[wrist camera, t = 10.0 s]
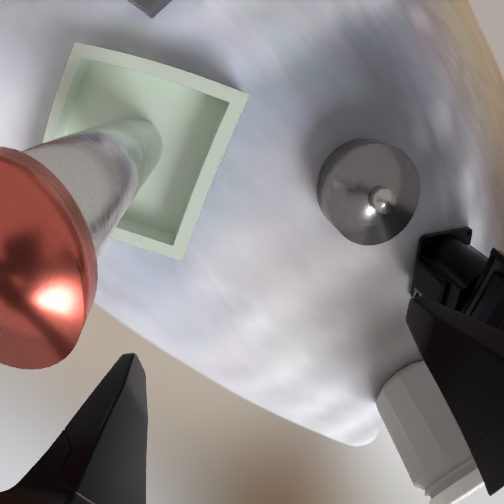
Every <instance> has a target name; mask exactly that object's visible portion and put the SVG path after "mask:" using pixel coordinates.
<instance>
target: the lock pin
mask: <svg viewBox="0 0 504 504" xmlns="http://www.w3.org/2000/svg"><path fill="white" fill-rule="evenodd" d="M162 147H163V145H162V139H161V136H160V134H159V132H158V130H157V129H156V127H155V126H154V125H153V124H151V123H150V122H148V121H147V120H144V119H141V118H135V117H133V118H126V119H122V120H118V121H114V122H110V123H107V124H103V125H99V126H96V127H92V128H89V129H85V130H82V131H79V132H76V133H72V134H69V135H66V136H63V137H60V138H57V139H54V140H51V141H49V142H46V143H43V144H40V145H37V146H35V147H32V148H29V149H27V150H24V151H22V152H20V151H18V150H15V149H11V148H6V147H0V363H2V364H5V365H8V366H11V367H16V368H21V369H41V368H45V367H50V366H52V365H54V364H57V363H59V362H60V361H61V360H63V359H64V358H66V357H67V356H68V355H69V354H70V352H71V351H72V350H73V348H74V347H75V345H76V343H77V341H78V339H79V336H80V334H81V331H82V328H83V326H84V323H85V321H86V319H87V316H88V314H89V312H90V309H91V307H92V304H93V302H94V298H95V294H96V289H97V280H98V274H97V258H98V256H99V254H100V253H101V251H102V249H103V247H104V246H105V244H106V242H107V241H108V239H109V237H110V236H111V234H112V232H113V231H114V229H115V227H116V226H117V224H118V223H119V221H120V219H121V218H122V216H123V215H124V213H125V211H126V210H127V208H128V207H129V205H130V204H131V202H132V201H133V199H134V198H135V196H136V195H137V193H138V192H139V190H140V189H141V187H142V186H143V184H144V183H145V181H146V180H147V178H148V177H149V175H150V174H151V173H152V171H153V170H154V168H155V167H156V166H157V164H158V162H159V160H160V158H161V155H162Z"/></svg>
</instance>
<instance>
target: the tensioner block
mask: <svg viewBox="0 0 504 504" xmlns="http://www.w3.org/2000/svg"><path fill="white" fill-rule="evenodd" d="M128 1H129V2H131V3H132V4H133V5H135V6H136V7H137V8H139V9H140V10H141V11H143V12H144V13H145V14H147V15H148V16H149V17H151V18H153V17H154V16H155V15H156V14H157V13H158V12H160V11H161V10H162V9H163V8H164V7H165V6H166V5H167V4H168V3H170V2H171V1H172V0H128Z"/></svg>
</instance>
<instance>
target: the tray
mask: <svg viewBox="0 0 504 504" xmlns="http://www.w3.org/2000/svg"><path fill="white" fill-rule="evenodd" d="M248 97H249V95H248V94H246V93H243V92H241V91H238V90H236V89H233V88H231V87H228V86H226V85H223V84H220V83H218V82H215V81H212V80H210V79H207V78H204V77H201V76H198V75H196V74H193V73H190V72H187V71H184V70H181V69H178V68H175V67H171V66H168V65H165V64H162V63H158V62H155V61H151V60H148V59H144V58H141V57H137V56H133V55H130V54H126V53H122V52H118V51H114V50H109V49H105V48H101V47H96V46H91V45H86V44H81V43H76V42H75V43H74V45H73V48H72V50H71V53H70V55H69V58H68V61H67V63H66V66H65V69H64V71H63V74H62V77H61V80H60V83H59V86H58V89H57V92H56V95H55V98H54V102H53V105H52V108H51V112H50V115H49V119H48V123H47V126H46V130H45V134H44V138H43V143H46V142H49V141H51V140H54V139H57V138H60V137H63V136H66V135H69V134H72V133H76V132H79V131H82V130H85V129H89V128H92V127H96V126H99V125H103V124H107V123H110V122H114V121H118V120H122V119H126V118H133V117H135V118H141V119H144V120H147V121H148V122H150V123H151V124H153V125H154V126H155V127H156V129H157V130H158V132H159V134H160V136H161V139H162V145H163V147H162V155H161V158H160V160H159V162H158V164H157V166H156V167H155V168H154V170H153V171H152V173H151V174H150V175H149V177H148V178H147V180H146V181H145V183H144V184H143V186H142V187H141V189H140V190H139V192H138V193H137V195H136V196H135V198H134V199H133V201H132V202H131V204H130V205H129V207H128V208H127V210H126V211H125V213H124V215H123V216H122V218H121V219H120V221H119V223H118V224H117V226H116V227H115V229H114V231H113V232H112V234H111V236H110V237H109V238H112V239H115V240H118V241H121V242H124V243H127V244H130V245H133V246H137V247H140V248H143V249H146V250H149V251H152V252H155V253H158V254H161V255H165V256H168V257H171V258H174V259H177V260H181V261H182V259H183V256H184V253H185V250H186V248H187V245H188V242H189V240H190V237H191V234H192V232H193V229H194V226H195V224H196V221H197V218H198V216H199V213H200V211H201V208H202V206H203V203H204V201H205V198H206V196H207V193H208V191H209V188H210V186H211V183H212V181H213V178H214V176H215V173H216V171H217V168H218V166H219V164H220V161H221V159H222V156H223V154H224V152H225V149H226V147H227V145H228V142H229V140H230V138H231V135H232V133H233V131H234V129H235V126H236V124H237V122H238V120H239V117H240V115H241V113H242V111H243V108H244V106H245V104H246V102H247V100H248ZM43 143H42V144H43Z"/></svg>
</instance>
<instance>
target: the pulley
mask: <svg viewBox="0 0 504 504" xmlns="http://www.w3.org/2000/svg"><path fill="white" fill-rule="evenodd" d="M419 193H420V184H419V177H418V173H417V171H416V168H415V166H414V164H413V162H412V161H411V160H410V158H409V157H408V156H407V155H406V154H405V153H404V152H402V151H401V150H399V149H397V148H395V147H393V146H390V145H387V144H384V143H381V142H377V141H374V140H370V139H357V140H353V141H350V142H347V143H345V144H343V145H342V146H340V147H339V148H337V149H336V150H335V151H334V152H333V153H332V154H331V155H330V156H329V157H328V159H327V160H326V162H325V163H324V165H323V167H322V170H321V172H320V175H319V179H318V185H317V194H318V200H319V204H320V207H321V210H322V211H323V213H324V215H325V216H326V218H327V219H328V220H329V221H330V222H331V223H332V224H333V225H334V226H335V227H336V228H337V229H338V230H339V231H340V233H341V234H342V235H343V236H344V237H346V238H347V239H349V240H350V241H352V242H354V243H357V244H362V245H376V244H380V243H383V242H386V241H388V240H390V239H392V238H393V237H395V236H396V235H397V234H399V233H400V232H401V231H402V230H403V229H404V228H405V227H406V225H407V224H408V223H409V221H410V220H411V218H412V216H413V214H414V212H415V210H416V207H417V204H418V200H419Z"/></svg>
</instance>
